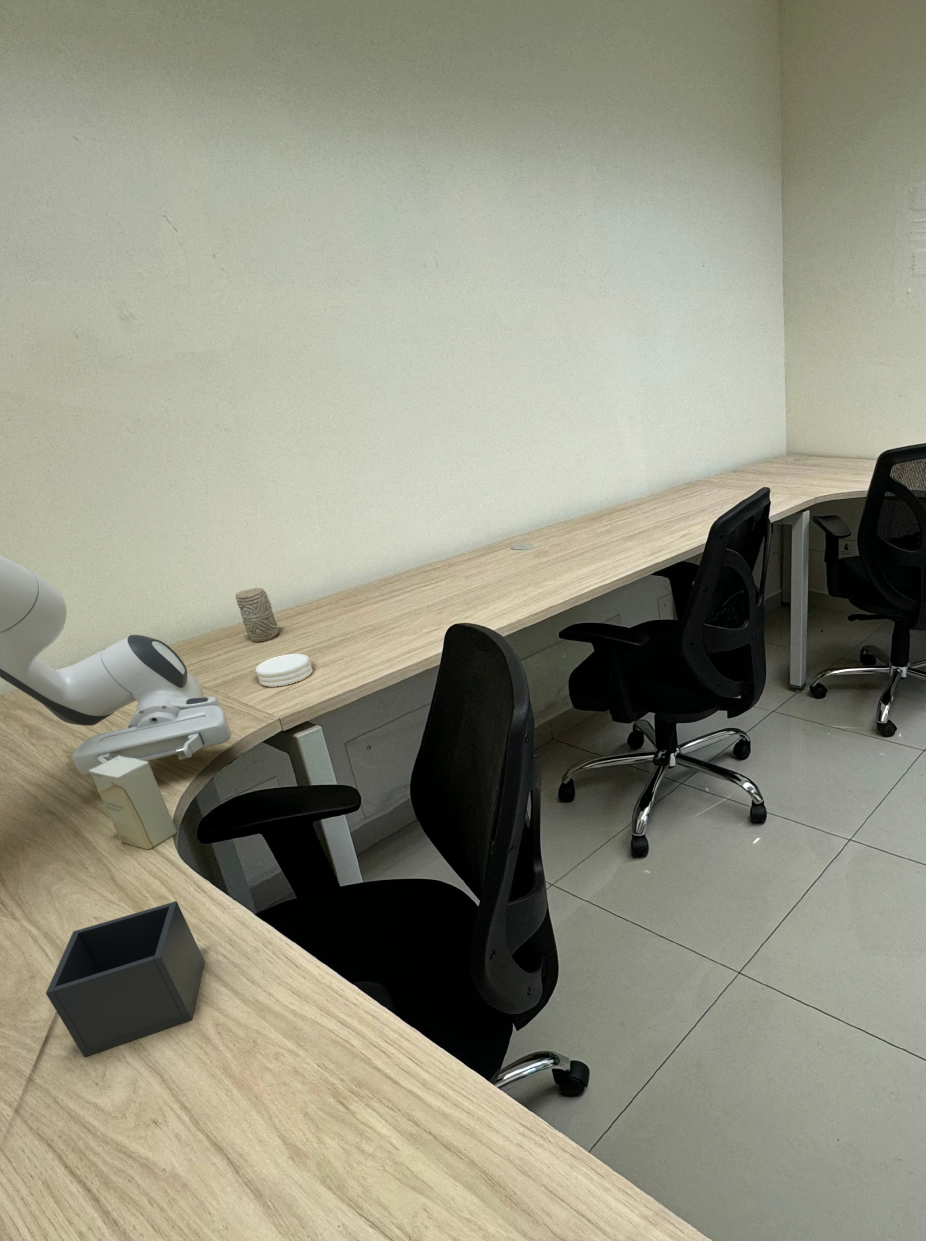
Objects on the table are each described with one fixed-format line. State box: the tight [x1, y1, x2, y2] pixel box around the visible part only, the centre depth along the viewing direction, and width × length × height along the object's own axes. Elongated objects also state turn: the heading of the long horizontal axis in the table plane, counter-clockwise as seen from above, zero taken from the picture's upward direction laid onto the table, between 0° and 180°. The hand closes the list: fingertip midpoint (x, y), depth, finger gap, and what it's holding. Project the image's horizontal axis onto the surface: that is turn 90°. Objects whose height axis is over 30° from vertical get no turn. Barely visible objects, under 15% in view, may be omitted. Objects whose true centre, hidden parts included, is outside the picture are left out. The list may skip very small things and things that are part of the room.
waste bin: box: [45, 900, 205, 1058], centre depth 79 cm, size 9×9×9 cm
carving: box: [234, 587, 279, 643], centre depth 179 cm, size 6×8×12 cm
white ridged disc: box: [255, 653, 313, 688], centre depth 158 cm, size 10×10×4 cm
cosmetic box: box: [89, 755, 178, 850], centre depth 106 cm, size 6×4×12 cm
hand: (146, 763), depth 115 cm, fingers open, 8 cm apart
